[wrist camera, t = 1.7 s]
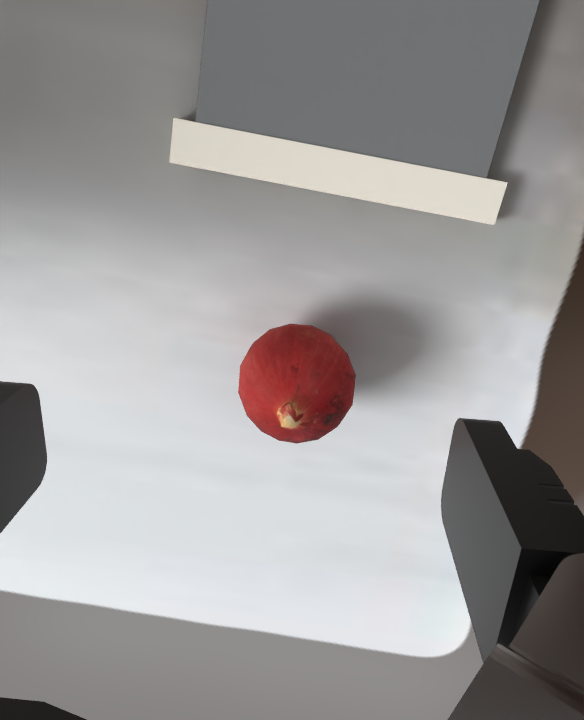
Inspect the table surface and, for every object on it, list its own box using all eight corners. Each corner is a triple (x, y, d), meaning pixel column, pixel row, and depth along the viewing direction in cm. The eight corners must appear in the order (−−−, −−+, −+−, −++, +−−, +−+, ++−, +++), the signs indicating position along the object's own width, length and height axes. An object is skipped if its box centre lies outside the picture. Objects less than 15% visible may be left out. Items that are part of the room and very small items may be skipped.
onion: (371, 337, 31) (385, 401, 23) (320, 418, 33) (319, 500, 25) (277, 288, 30) (261, 338, 23) (231, 374, 32) (203, 446, 25)
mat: (488, 221, 28) (494, 225, 27) (175, 161, 28) (169, 162, 27) (613, -184, 22) (627, -200, 21) (215, -266, 22) (209, -285, 21)
